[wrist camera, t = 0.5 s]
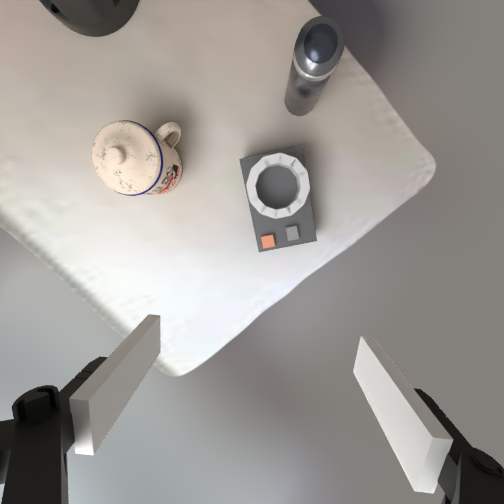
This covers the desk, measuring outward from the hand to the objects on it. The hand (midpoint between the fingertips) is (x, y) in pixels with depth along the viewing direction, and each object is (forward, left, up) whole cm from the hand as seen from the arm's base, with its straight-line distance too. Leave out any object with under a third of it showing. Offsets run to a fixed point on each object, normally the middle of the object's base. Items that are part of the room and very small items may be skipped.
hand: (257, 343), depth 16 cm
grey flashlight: (-22, +10, -26) cm, 36 cm away
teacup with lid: (-18, -13, -27) cm, 34 cm away
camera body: (-8, +4, -26) cm, 28 cm away
